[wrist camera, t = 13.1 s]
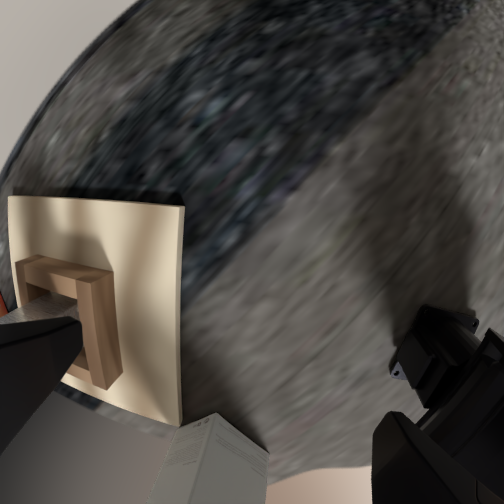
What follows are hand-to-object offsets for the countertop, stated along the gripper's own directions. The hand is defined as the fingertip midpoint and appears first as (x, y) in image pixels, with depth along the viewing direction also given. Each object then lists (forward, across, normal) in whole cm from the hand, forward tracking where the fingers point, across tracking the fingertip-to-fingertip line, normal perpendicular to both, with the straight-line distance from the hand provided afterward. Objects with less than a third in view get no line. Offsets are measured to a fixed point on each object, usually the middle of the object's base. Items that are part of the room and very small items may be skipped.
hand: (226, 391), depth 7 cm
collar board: (+13, +15, +9) cm, 22 cm away
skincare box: (+13, -1, +19) cm, 23 cm away
